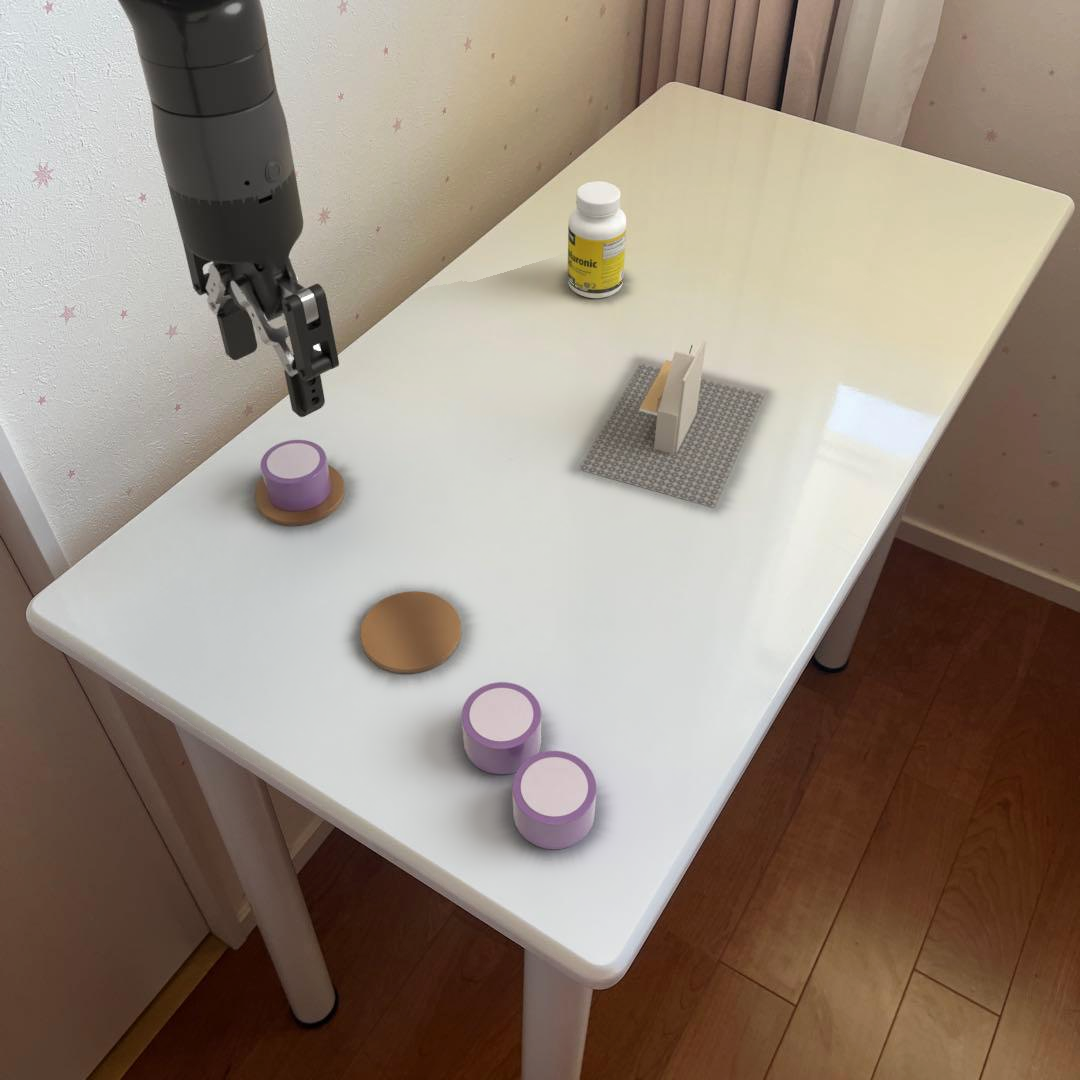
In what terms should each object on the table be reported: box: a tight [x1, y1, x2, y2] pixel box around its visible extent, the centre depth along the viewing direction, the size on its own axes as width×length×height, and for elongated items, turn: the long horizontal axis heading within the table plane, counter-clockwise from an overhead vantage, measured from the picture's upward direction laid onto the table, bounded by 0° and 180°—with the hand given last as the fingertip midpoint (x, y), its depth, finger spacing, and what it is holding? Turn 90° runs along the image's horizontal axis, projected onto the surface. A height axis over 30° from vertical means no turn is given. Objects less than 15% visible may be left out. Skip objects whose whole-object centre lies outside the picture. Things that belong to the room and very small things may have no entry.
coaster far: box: [253, 464, 346, 527], centre depth 87 cm, size 7×7×1 cm
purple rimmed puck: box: [511, 750, 597, 850], centre depth 67 cm, size 5×5×3 cm
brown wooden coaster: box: [359, 590, 462, 675], centre depth 77 cm, size 7×7×1 cm
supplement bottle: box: [567, 180, 628, 299], centre depth 103 cm, size 5×5×10 cm
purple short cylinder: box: [259, 439, 332, 511], centre depth 85 cm, size 5×5×3 cm
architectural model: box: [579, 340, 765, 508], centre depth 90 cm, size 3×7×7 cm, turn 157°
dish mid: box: [460, 681, 542, 775], centre depth 70 cm, size 5×5×3 cm
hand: (275, 381), depth 78 cm, fingers open, 8 cm apart
